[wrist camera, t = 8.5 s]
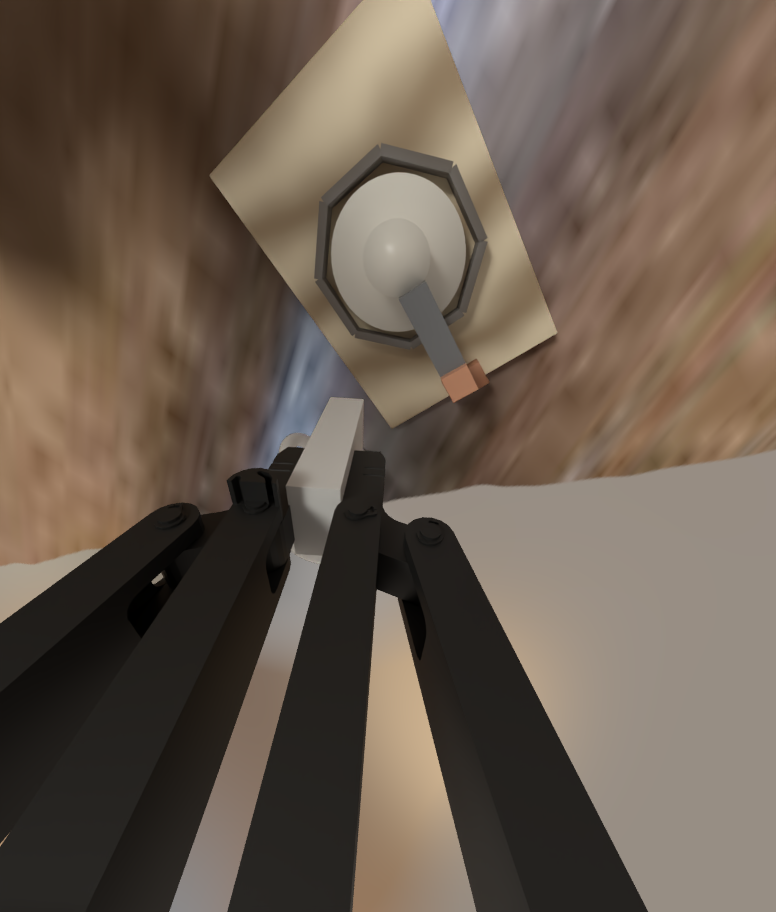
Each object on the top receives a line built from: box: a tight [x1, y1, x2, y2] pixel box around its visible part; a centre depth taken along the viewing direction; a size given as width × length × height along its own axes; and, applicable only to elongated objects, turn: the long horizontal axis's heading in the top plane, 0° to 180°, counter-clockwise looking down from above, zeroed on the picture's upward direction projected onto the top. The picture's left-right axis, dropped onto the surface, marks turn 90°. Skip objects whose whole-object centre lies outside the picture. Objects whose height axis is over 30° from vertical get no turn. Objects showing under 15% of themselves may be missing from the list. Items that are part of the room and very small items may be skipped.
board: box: [209, 0, 557, 428], centre depth 25 cm, size 24×17×3 cm
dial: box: [331, 172, 478, 402], centre depth 23 cm, size 15×10×7 cm, turn 32°
